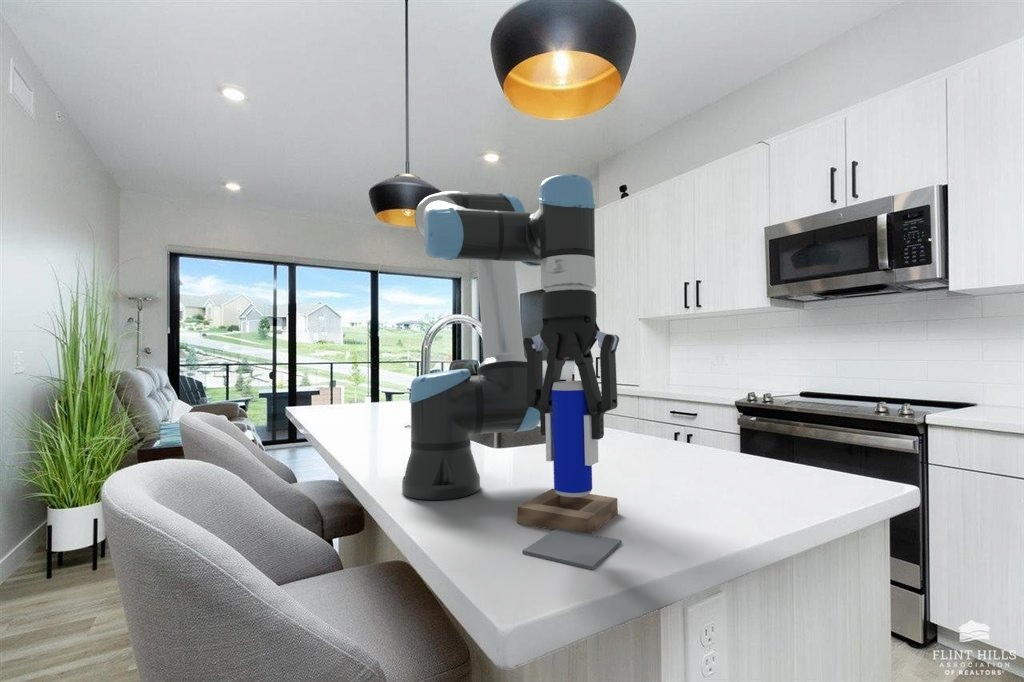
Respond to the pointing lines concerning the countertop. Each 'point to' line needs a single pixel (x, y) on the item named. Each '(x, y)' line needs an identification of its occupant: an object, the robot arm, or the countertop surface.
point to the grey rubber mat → (573, 548)
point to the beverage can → (570, 440)
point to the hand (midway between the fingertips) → (572, 461)
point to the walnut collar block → (567, 511)
